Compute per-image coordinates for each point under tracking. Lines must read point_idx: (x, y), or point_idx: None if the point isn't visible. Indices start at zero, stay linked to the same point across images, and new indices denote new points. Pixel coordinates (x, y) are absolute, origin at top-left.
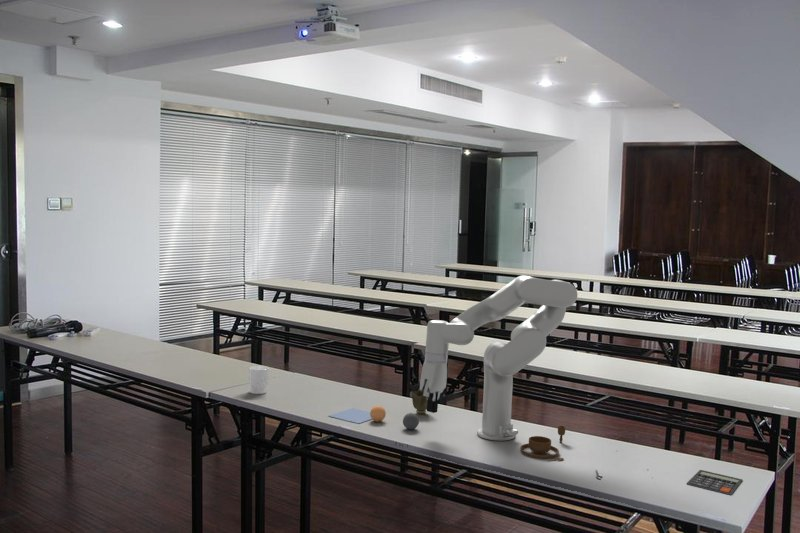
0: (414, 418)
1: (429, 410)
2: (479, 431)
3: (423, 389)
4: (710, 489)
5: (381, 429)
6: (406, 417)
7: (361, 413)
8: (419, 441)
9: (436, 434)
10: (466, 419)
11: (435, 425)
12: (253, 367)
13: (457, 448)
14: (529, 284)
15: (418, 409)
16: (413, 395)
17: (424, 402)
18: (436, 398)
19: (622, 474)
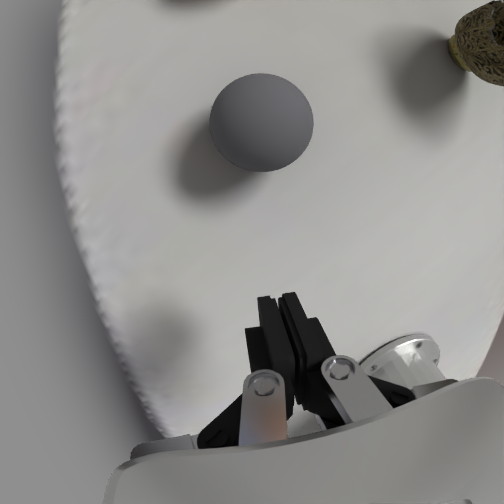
0: (250, 161)
1: (260, 320)
2: (378, 363)
3: (215, 459)
4: None
5: (142, 41)
6: (220, 114)
7: None
8: (145, 279)
9: (282, 266)
10: (489, 225)
11: (390, 180)
12: None
13: (205, 392)
14: None
15: (456, 46)
16: (486, 12)
17: (489, 69)
18: (315, 413)
19: None
